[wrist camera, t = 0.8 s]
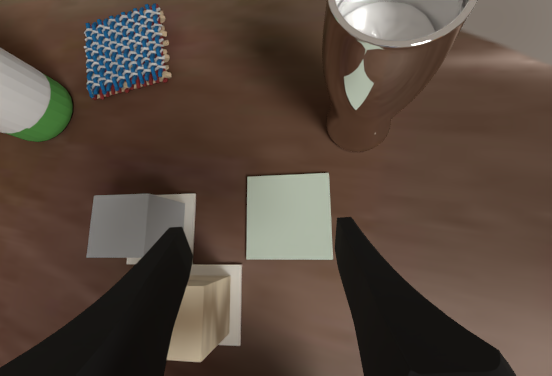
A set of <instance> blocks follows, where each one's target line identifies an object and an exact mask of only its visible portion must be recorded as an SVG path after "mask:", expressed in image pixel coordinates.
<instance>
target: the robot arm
mask: <svg viewBox="0 0 552 376" xmlns="http://www.w3.org/2000/svg"><path fill="white" fill-rule="evenodd" d="M335 253H336V259H337V264H338V269H339V273H340V276H341V280H342V283H343V287H344V290H345V293H346V297H347V300H348V304H349V307H350V310H351V314H352V318H353V322H354V326H355V331H356V336H357V341H358V346H359V351H360V357H361V362H362V368H363V373H364V376H516V374H515V373H514V371H513V370H512V368H511V367H510V365H509V364H508V362H507V361H506V360H505V358H504V357H503V356H502V354H501V353H500V351H499V350H497V349H496V348H494V347H493V346H491V345H490V344H488V343H487V342H485V341H484V340H482V339H480V338H479V337H477V336H476V335H474V334H473V333H471V332H470V331H468V330H467V329H465V328H464V327H462V326H461V325H460V324H458V323H457V322H455V321H454V320H453V319H451V318H450V317H448V316H447V315H446V314H445V313H443V312H442V311H441V310H440V309H438V308H437V307H436V306H435V305H433V304H432V303H431V302H429V301H428V300H427V299H426V298H424V297H423V296H422V295H421V294H420V293H419V292H418V291H416V290H415V289H414V288H413V287H412V286H411V285H410V284H409V283H408V282H407V281H405V280H404V279H403V278H402V277H401V276H400V275H399V274H398V273H397V272H396V271H395V270H394V269H393V268H392V267H391V266H390V264H389V263H388V262H387V261H386V260H385V259H384V258H383V257H382V256H381V255H380V253H379V252H378V251H377V250H376V249H375V247H374V246H373V245H372V244H371V243H370V241H369V240H368V239H367V238H366V236H365V235H364V234H363V232H362V231H361V230H360V228H359V227H358V226H357V224H356V223H355V221H354V220H353V219H352V218H351V217H344V218H337V227H336V239H335ZM192 261H193V254H192V251H191V248H190V246H189V243H188V241H187V238H186V235H185V233H184V230H183V228H182V227H169V228H168V230H167V231H166V232H165V233H164V234H163V235H162V236H161V237H160V238H159V239H158V241H157V242H156V243H155V244H154V245H153V246H152V247H151V248H150V250H149V251H148V252H147V253H146V254H145V255H144V256H143V257H142V258H141V259H140V260H139V261H138V262H137V264H136V265H135V266H134V267H133V268H132V269H131V270H130V271H129V272H128V273H127V274H126V275H125V276H124V277H123V278H122V279H121V280H120V281H119V282H117V283H116V284H115V285H114V286H113V287H112V288H111V289H110V290H109V291H108V292H106V293H105V294H104V295H103V296H102V297H101V298H100V299H98V300H97V301H96V302H95V303H94V304H92V305H91V306H90V307H89V308H87V309H86V310H85V311H83V312H82V313H81V314H80V315H78V316H77V317H76V318H74V319H73V320H72V321H70V322H69V323H68V324H66V325H65V326H64V327H62V328H61V329H59V330H58V331H57V332H55V333H54V334H52V335H51V336H49V337H48V338H46V339H45V340H43V341H42V342H40V343H39V344H37V345H36V346H34V347H33V348H31V349H30V350H28V351H26V352H25V353H23V354H22V355H20V356H18V357H17V358H15V359H14V360H12V361H10V362H9V363H7V364H6V365H4V366H2V367H1V368H0V376H164V371H165V366H166V360H167V355H168V350H169V346H170V341H171V336H172V332H173V328H174V325H175V321H176V318H177V315H178V312H179V309H180V305H181V302H182V299H183V296H184V293H185V290H186V287H187V283H188V280H189V277H190V272H191V267H192Z"/></svg>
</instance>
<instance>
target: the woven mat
mask: <svg viewBox="0 0 552 376" xmlns="http://www.w3.org/2000/svg"><path fill="white" fill-rule="evenodd" d="M145 7H146V9H144V8H143V7H142V8H140V10H137V8H134V9H133V11H134V12H133V13H132V12H131V11H129V12H128V13H127V14H125V12H122V13H121V14H122V15H121V16H120V15H117V16H116V17H115V18H114V17H113V16H109V17H110V19H109V21H108V19H105V20H104V21H101V20H100V19H98V20H97V22H98V25H97V23H96V22H94V23H93V24H92V25H90V24H89V23H85V24H86V27H87V29H86V31H85V32H84V34H85V36H86V37H87V38H86V39H84V40H85V41H87V40H88V41H87V42H86V46H84V48H87V49H86V50H85V52H86V57H88V59H87V61H86V63H87V64H86V68H88V69H87V72H88V74H87V80H88V82H87V89H88V91H89V94H90V97H91V98H93V99H94V100H96V99H98V98H101V100H102V99H104V97H105V96H106V97H110V95H115V94H117V93H122V92H124V91H125V92H126V93H127V92H129V91H130V89H131V90H134V89H135V88H138V89H139V88H141V87H142V86H144V87H146V86H147V85H153V83H160V82H161V81H163V82H164V83H165V82H167V81H168V78H171V73H170V72H167V71H166V70H167V69H169V66H168V65H166V66H165V62H167V61H168V60H169V55H167V54H166V53H167V50H165V49H163V46H166V45H169V42H168V40H165V41H164V37H167V32H166V31H164V30H165V28H164V26H162V24H161V23H163V22H164V21H165V16H164V15H163V11H159V10H160V7H159V6H158V4H156V3H155V4H153V5H152V6H151V7H149V5H148V4H146V5H145ZM96 25H97V27H96ZM91 43H92V44H91ZM102 50H103V51H102ZM87 72H86V73H87ZM91 86H92V87H91ZM110 88H111V89H110ZM98 91H99V93H98Z"/></svg>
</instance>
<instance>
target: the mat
mask: <svg viewBox="0 0 552 376" xmlns="http://www.w3.org/2000/svg"><path fill="white" fill-rule="evenodd" d="M246 259H311V260H333V250H332V229H331V208H330V187H329V173H317V174H296V175H274V176H253V177H247V251H246Z"/></svg>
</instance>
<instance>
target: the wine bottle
mask: <svg viewBox="0 0 552 376" xmlns="http://www.w3.org/2000/svg"><path fill="white" fill-rule="evenodd" d="M72 112H73V104H72V99H71V96H70V95H69V93H68V91H67V90H66V89H65V88H64V87H63V86H61V85H60V84H59V83H58V82H56V81H55V80H53V79H51V78H50V77H48V76H46V75H45V74H43V73H41V72H40V71H39V70H37V69H35V68H34V67H32V66H30V65H29V64H27V63H25V62H24V61H22V60H20V59H19V58H17V57H15V56H14V55H12V54H10V53H9V52H7V51H5V50H4V49H2V48H0V132H2V133H6V134H9V135H12V136H15V137H18V138H21V139H24V140H27V141H36V142H41V141H46V140H49V139H52V138H54V137H56V136H57V135H58V134H60V133H61V132H62V131H63V130H64V129H65V127H66V126H67V125H68V123H69V121H70V119H71V116H72Z"/></svg>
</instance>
